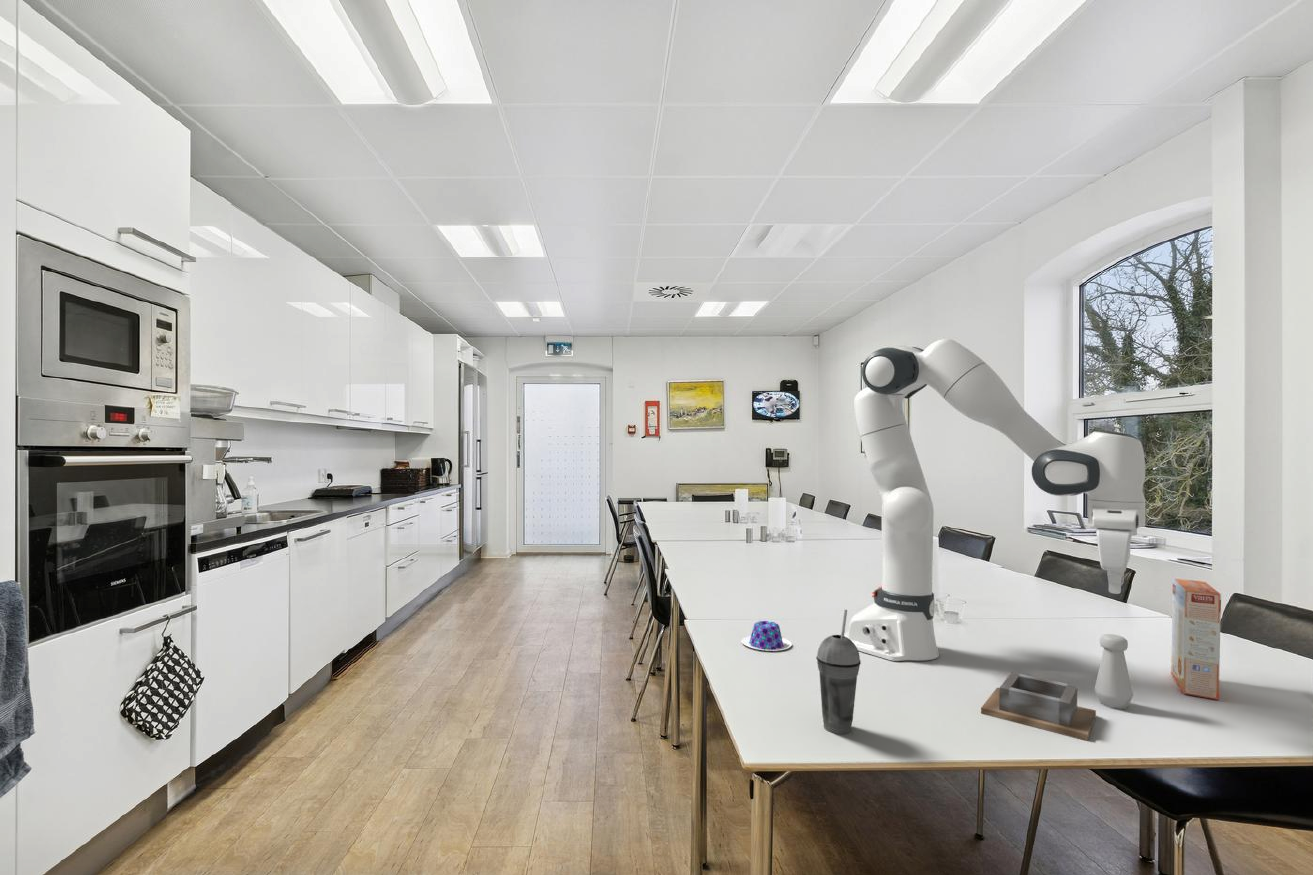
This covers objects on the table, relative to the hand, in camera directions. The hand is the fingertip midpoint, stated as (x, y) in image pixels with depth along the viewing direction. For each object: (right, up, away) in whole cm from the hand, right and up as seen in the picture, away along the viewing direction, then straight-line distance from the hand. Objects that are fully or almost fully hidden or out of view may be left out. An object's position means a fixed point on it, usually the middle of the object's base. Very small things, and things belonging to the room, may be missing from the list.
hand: (1116, 588), depth 120 cm
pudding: (-61, -22, +32) cm, 72 cm away
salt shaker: (-1, -22, -1) cm, 22 cm away
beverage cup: (-57, -21, -13) cm, 62 cm away
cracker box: (+23, -23, +9) cm, 33 cm away
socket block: (-18, -21, -6) cm, 29 cm away
